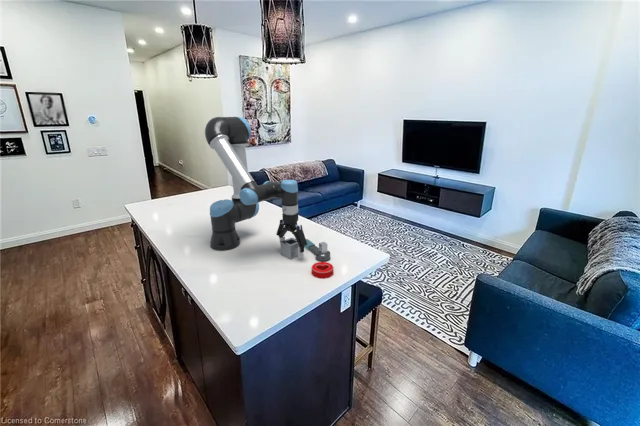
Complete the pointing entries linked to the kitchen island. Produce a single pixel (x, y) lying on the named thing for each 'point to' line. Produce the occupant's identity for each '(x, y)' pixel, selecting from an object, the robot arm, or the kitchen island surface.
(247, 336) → the kitchen island surface
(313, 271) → the decorative ornament
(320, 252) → the ratchet
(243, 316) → the kitchen island surface
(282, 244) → the hollow square tube
